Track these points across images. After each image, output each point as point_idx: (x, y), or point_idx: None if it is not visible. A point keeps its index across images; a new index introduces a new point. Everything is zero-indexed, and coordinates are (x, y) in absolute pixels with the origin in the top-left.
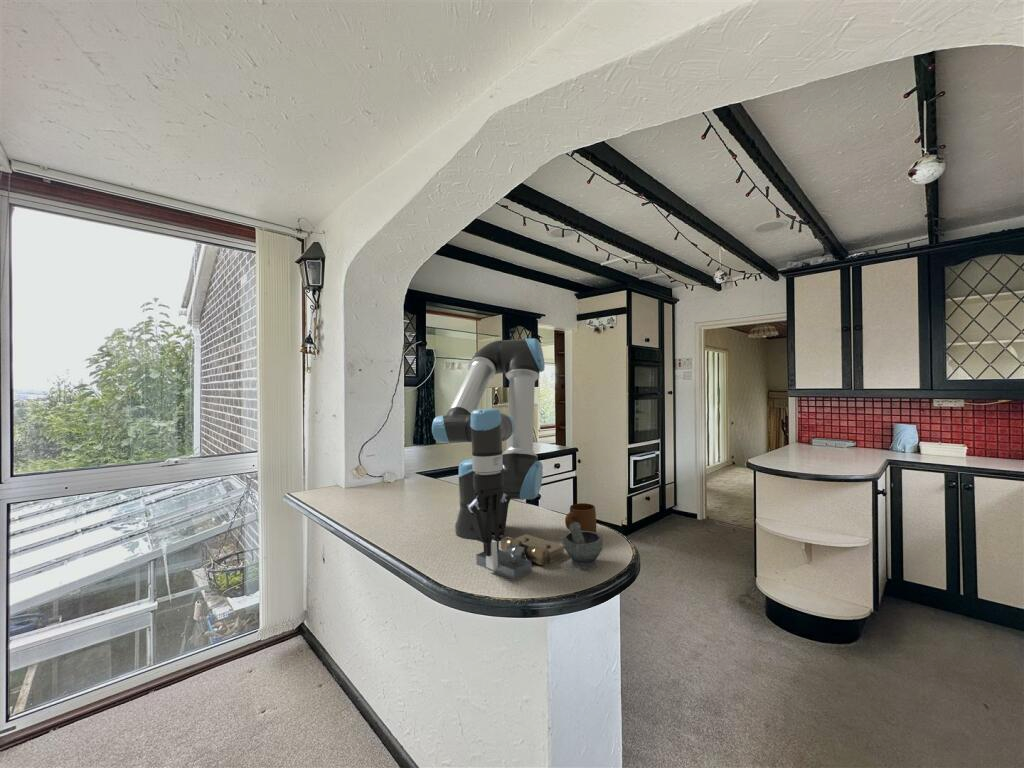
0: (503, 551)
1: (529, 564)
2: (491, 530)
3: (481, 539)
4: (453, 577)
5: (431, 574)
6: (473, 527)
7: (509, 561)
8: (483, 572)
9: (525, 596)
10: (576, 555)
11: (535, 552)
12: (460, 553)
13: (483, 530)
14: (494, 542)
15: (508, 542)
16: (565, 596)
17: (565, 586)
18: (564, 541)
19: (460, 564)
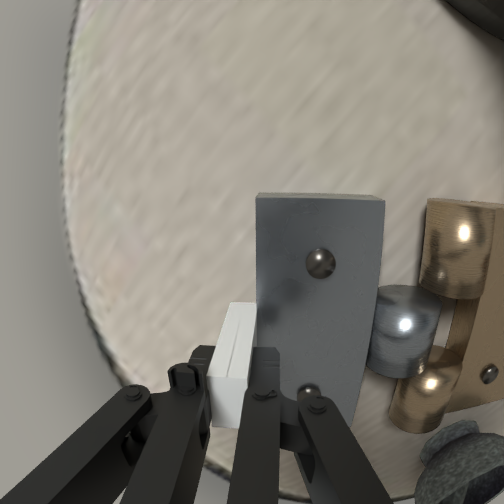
0: (376, 283)
1: None
2: (197, 482)
3: (126, 438)
4: (115, 221)
5: (75, 134)
6: (64, 444)
7: (304, 379)
8: (225, 282)
9: (217, 458)
10: (414, 493)
11: (407, 412)
12: (285, 32)
13: (123, 482)
14: (230, 426)
15: (449, 256)
16: (281, 497)
17: None
18: (449, 483)
19: (204, 134)
